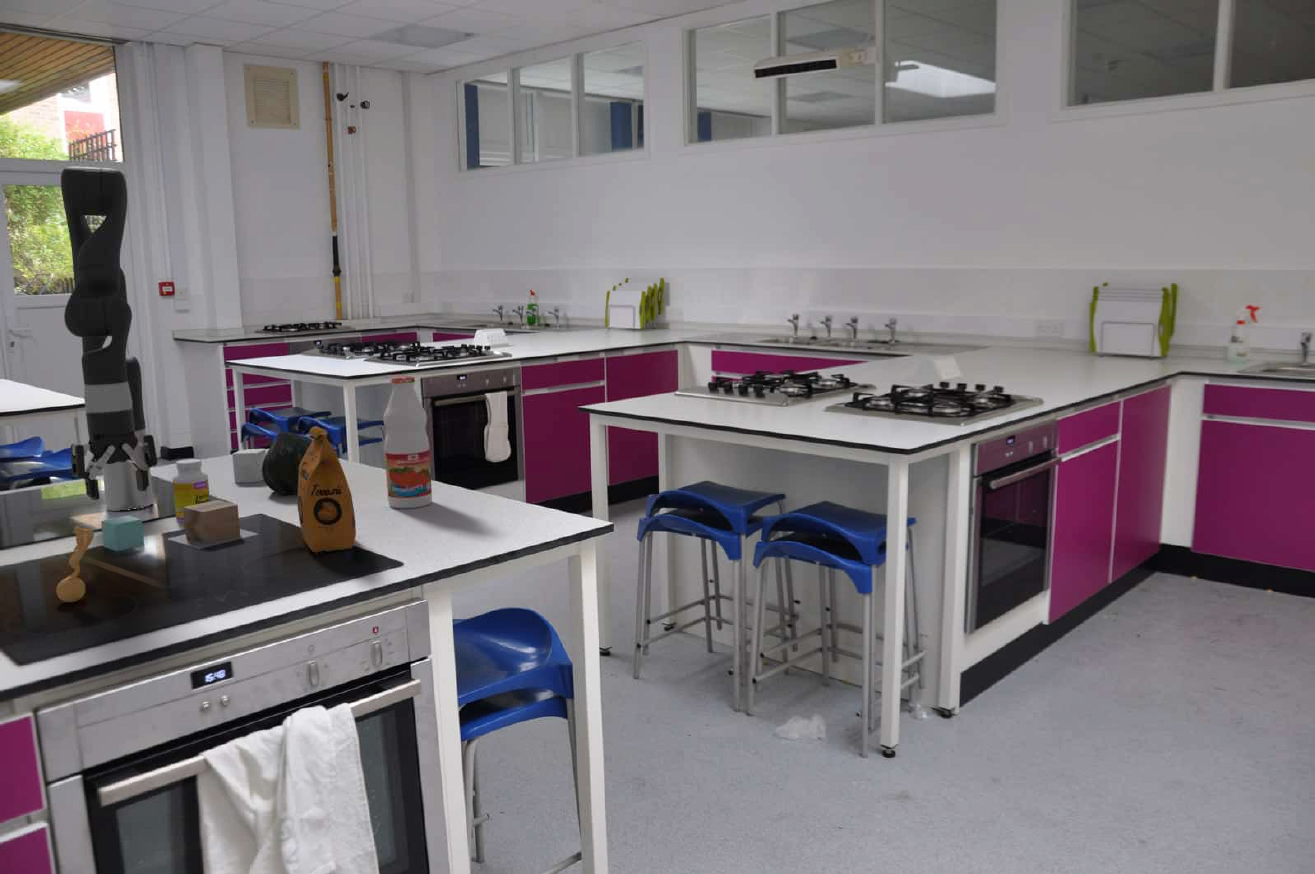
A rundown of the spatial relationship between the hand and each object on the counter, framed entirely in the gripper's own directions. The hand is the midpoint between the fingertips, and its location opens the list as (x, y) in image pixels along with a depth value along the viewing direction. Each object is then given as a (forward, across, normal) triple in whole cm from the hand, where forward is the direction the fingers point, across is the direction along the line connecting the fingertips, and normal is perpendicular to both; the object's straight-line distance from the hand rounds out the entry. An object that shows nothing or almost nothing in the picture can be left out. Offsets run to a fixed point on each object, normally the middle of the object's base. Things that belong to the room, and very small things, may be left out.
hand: (118, 494), depth 186 cm
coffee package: (+11, -24, +29) cm, 39 cm away
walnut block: (+10, -13, +8) cm, 18 cm away
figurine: (+11, +18, +23) cm, 31 cm away
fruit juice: (+11, -54, +16) cm, 57 cm away
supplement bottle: (+11, -19, -10) cm, 24 cm away
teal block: (+11, 0, 0) cm, 11 cm away
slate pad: (+11, -13, +8) cm, 19 cm away
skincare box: (+10, -49, -38) cm, 63 cm away
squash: (+11, -48, -17) cm, 52 cm away
